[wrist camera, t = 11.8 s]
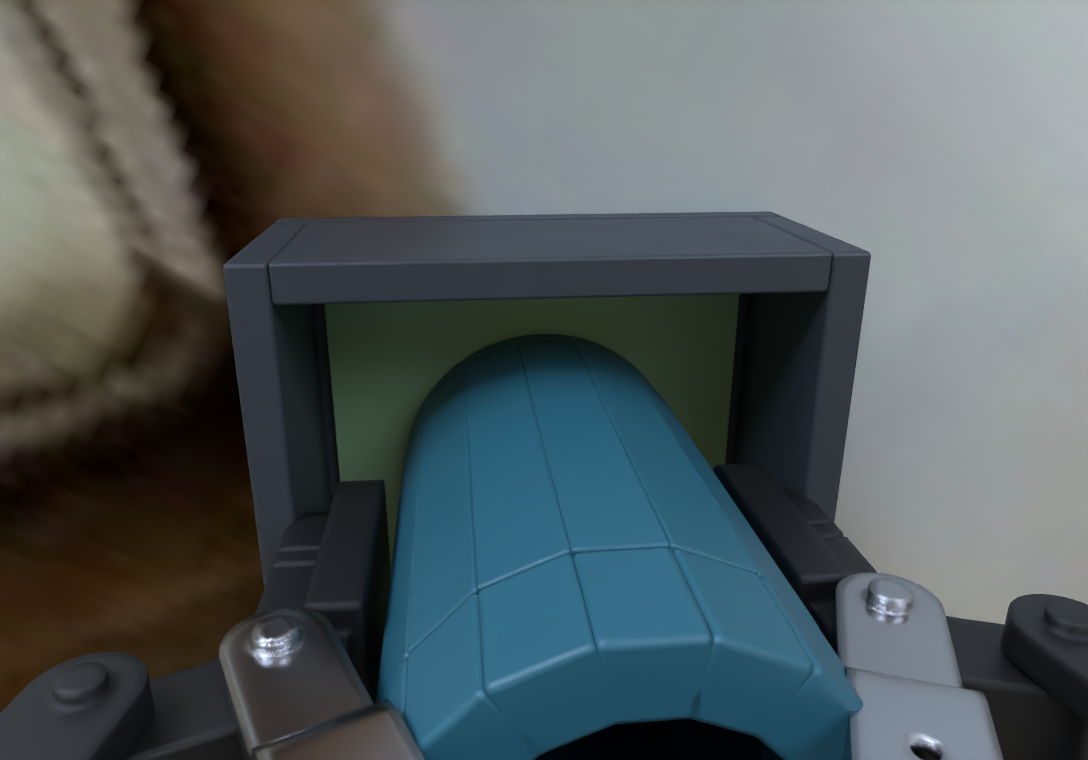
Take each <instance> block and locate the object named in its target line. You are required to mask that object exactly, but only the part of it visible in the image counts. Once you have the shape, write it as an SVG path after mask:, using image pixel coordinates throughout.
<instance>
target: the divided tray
mask: <svg viewBox="0 0 1088 760" xmlns="http://www.w3.org/2000/svg"><path fill="white" fill-rule="evenodd" d="M870 258H871V255H870V252H868V251H866V250H863V249H861V248H858V247H856V246H853V245H851V244H848V243H846V242H844V241H841V240H839V239H836V238H834V237H831V236H829V235H826V234H824V233H822V232H819V231H817V230H814V229H812V228H809V227H807V226H804V225H802V224H800V223H797V222H795V221H792V220H790V219H787V218H785V217H782V216H780V215H778V214H775V213H773V212H710V213H638V214H565V215H493V216H420V217H347V218H281V219H279V220H277V221H276V222H275V223H274V224H273V225H271V226H270V227H269V228H268V229H266V230H265V231H264V232H263V233H262V234H260V235H259V236H258V237H257V238H256V239H254V240H253V241H252V242H251V243H250V244H248V245H247V246H246V247H245V248H244V249H242V250H241V251H240V252H239V253H238V254H236V255H235V256H234V257H233V258H232V259H230V260H229V261H228V262H227V263H226V264H224V267H223V272H224V280H225V288H226V295H227V303H228V311H229V319H230V326H231V334H232V342H233V349H234V357H235V365H236V372H237V380H238V388H239V395H240V403H241V411H242V419H243V426H244V434H245V442H246V449H247V457H248V465H249V472H250V480H251V488H252V495H253V503H254V511H255V519H256V526H257V534H258V542H259V549H260V557H261V565H262V572H263V580H264V588H265V586H266V583H267V580H268V578H269V575H270V572H271V569H272V568H273V567H274V561H275V558H276V556H277V553H278V552H279V547H280V544H281V542H282V539H283V536H284V533H285V531H286V529H287V528H288V527H289V526H290V525H292V524H293V523H294V522H295V521H296V520H297V519H298V518H299V517H301V516H302V515H303V514H304V513H305V512H326V511H330V508H331V504H332V501H333V497H334V493H335V490H336V486H337V483H338V482H339V481H359V480H381V479H383V480H384V484H385V493H386V508H387V522H388V537H389V552H390V569H391V566H392V557H393V549H394V540H395V531H396V523H397V514H398V505H399V496H400V488H401V479H402V470H403V461H404V455H405V450H406V448H407V445H408V442H409V436H410V432H411V429H412V426H413V423H414V420H415V418H416V415H417V413H418V411H419V409H420V407H421V405H422V403H423V402H424V400H425V399H426V397H427V396H428V394H429V393H430V391H431V390H432V388H433V387H434V386H435V385H436V384H437V383H438V382H439V380H440V379H441V378H442V377H443V376H444V375H445V374H446V373H447V372H448V371H450V370H451V369H452V368H453V367H454V366H455V365H456V364H458V363H459V362H461V361H462V360H464V359H465V358H467V357H468V356H470V355H471V354H473V353H475V352H477V351H479V350H481V349H483V348H485V347H487V346H489V345H492V344H495V343H497V342H500V341H503V340H506V339H511V338H515V337H520V336H525V335H536V334H558V335H566V336H572V337H578V338H582V339H585V340H588V341H592V342H595V343H597V344H599V345H602V346H604V347H606V348H608V349H610V350H612V351H614V352H615V353H617V354H619V355H620V356H622V357H623V358H625V359H626V360H628V361H629V362H630V363H631V364H632V365H634V366H635V367H636V368H637V369H638V370H639V371H640V372H641V373H642V374H643V375H644V376H645V377H646V379H647V380H648V381H649V382H650V383H651V385H652V386H653V387H654V388H655V389H656V390H657V391H658V392H659V393H660V394H661V395H662V397H663V398H664V400H665V401H666V403H667V404H668V406H669V407H670V409H671V410H672V411H673V413H674V414H675V416H676V417H677V419H678V420H679V422H680V423H681V425H682V426H683V428H684V429H685V431H686V432H687V434H688V435H689V437H690V438H691V439H692V441H693V442H694V444H695V445H696V447H697V448H698V450H699V451H700V453H701V454H702V456H703V457H704V459H705V460H706V462H707V463H708V464H709V466H710V467H711V469H712V470H713V469H714V467H715V466H716V465H728V464H749V463H760V464H761V465H762V466H763V467H764V468H765V469H766V470H767V472H768V473H769V474H770V475H771V477H772V478H773V479H774V480H775V481H776V483H777V484H778V485H779V486H780V488H781V489H782V490H791V489H792V490H794V491H796V492H798V493H799V494H801V495H803V496H805V497H806V498H808V499H810V500H812V501H813V502H815V503H817V504H818V505H819V507H820V508H821V509H822V510H823V511H824V512H825V513H826V515H827V516H828V517H829V518H830V519H831V523H834V520H835V512H836V505H837V498H838V491H839V483H840V476H841V469H842V462H843V454H844V447H845V440H846V433H847V425H848V418H849V411H850V403H851V396H852V389H853V382H854V374H855V367H856V360H857V353H858V345H859V338H860V331H861V324H862V316H863V309H864V302H865V295H866V287H867V280H868V273H869V266H870Z"/></svg>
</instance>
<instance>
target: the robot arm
mask: <svg viewBox="0 0 1088 760" xmlns="http://www.w3.org/2000/svg"><path fill="white" fill-rule="evenodd" d="M713 472H714V473H715V475H716V476H717V478H718V479H719V481H720V482H721V484H722V485H723V487H724V488H725V489H726V491H727V492H728V494H729V495H730V497H731V498H732V500H733V501H734V503H735V504H736V506H737V507H738V509H739V510H740V512H741V513H742V515H743V516H744V517H745V519H746V520H747V522H748V523H749V525H750V526H751V528H752V529H753V531H754V532H755V534H756V535H757V537H758V538H759V540H760V541H761V542H762V544H763V545H764V547H765V548H766V550H767V551H768V553H769V554H770V556H771V557H772V559H773V560H774V562H775V563H776V565H777V566H778V568H779V569H780V570H781V572H782V573H783V575H784V576H785V578H786V579H787V581H788V582H789V584H790V585H791V587H792V588H793V590H794V591H795V593H796V594H797V595H798V597H799V598H800V600H801V601H802V603H803V604H804V606H805V607H806V609H807V610H808V612H809V613H810V615H811V616H812V618H813V619H814V621H815V622H816V624H817V625H818V627H819V629H820V631H821V632H822V634H823V635H824V637H825V638H826V640H827V641H828V642H829V644H830V645H831V647H832V648H833V650H834V651H835V653H836V654H837V656H838V657H839V659H840V660H841V662H842V663H843V665H844V666H845V671H846V675H847V678H848V680H849V682H850V683H851V685H852V686H853V688H854V689H855V691H856V692H857V694H858V695H859V697H860V698H861V700H862V701H863V708H861V709H858V710H855V711H849V717H848V724H847V730H846V736H845V743H844V749H843V755H842V760H1088V605H1087V604H1084V603H1082V602H1079V601H1076V600H1073V599H1069V598H1065V597H1061V596H1055V595H1047V594H1031V595H1024V596H1021V597H1018V598H1016V599H1014V600H1013V601H1012V602H1011V603H1010V605H1009V608H1008V612H1007V617H1006V621H1005V625H1004V624H996V623H989V622H982V621H974V620H967V619H960V618H954V617H949V616H946V615H945V611H944V608H943V606H942V604H941V602H940V601H939V599H938V598H937V597H936V596H935V595H934V594H932V593H931V592H930V591H928V590H927V589H925V588H924V587H922V586H920V585H919V584H916V583H914V582H912V581H910V580H907V579H904V578H901V577H898V576H894V575H889V574H883V573H877V572H876V570H875V569H874V568H873V567H872V566H871V565H870V564H869V562H868V561H867V560H866V559H865V558H864V557H863V556H862V554H861V553H860V552H859V551H858V550H857V549H856V548H855V546H854V545H853V544H852V543H851V542H850V541H849V540H848V538H847V537H843V533H842V532H841V531H840V529H839V528H838V527H837V526H836V525H835V524H834V523H831V519H830V518H829V517H828V516H827V515H826V513H825V512H824V511H823V510H822V509H821V508H820V507H819V505H818V504H817V503H815V502H813V501H812V500H810V499H808V498H806V497H805V496H803V495H801V494H799V493H798V492H796V491H794V490H792V489H791V490H782V489H781V488H780V486H779V485H778V484H777V483H776V481H775V480H774V479H773V478H772V477H771V475H770V474H769V473H768V472H767V470H766V469H765V468H764V467H763V466H762V465H761V464H760V463H749V464H728V465H716V466H715V467H714V469H713ZM390 575H391V569H390V552H389V537H388V522H387V508H386V493H385V484H384V480H383V479H381V480H359V481H339V482H338V483H337V486H336V490H335V493H334V497H333V501H332V504H331V508H330V511H326V512H305V513H304V514H303V515H302V516H301V517H299V518H298V519H297V520H296V521H295V522H294V523H293V524H292V525H290V526H289V527H288V528H287V529H286V531H285V533H284V536H283V539H282V542H281V544H280V547H279V552H278V553H277V556H276V558H275V561H274V567H273V568H272V569H271V572H270V575H269V578H268V580H267V583H266V586H265V589H264V592H263V594H262V597H261V600H260V603H259V605H258V608H257V611H256V614H255V615H253V616H251V617H249V618H247V619H245V620H243V621H241V622H240V623H238V624H237V625H236V626H234V627H233V628H232V629H231V630H230V631H229V632H228V633H227V634H226V635H225V637H224V638H223V639H222V641H221V644H220V646H219V657H218V658H216V659H214V660H212V661H209V662H207V663H205V664H202V665H200V666H196V667H193V668H190V669H187V670H183V671H179V672H175V673H172V674H168V675H164V676H161V677H157V678H153V679H150V680H149V677H148V672H147V667H146V666H145V664H144V662H142V661H141V660H140V659H139V658H137V657H135V656H133V655H130V654H126V653H120V652H101V653H94V654H89V655H84V656H80V657H77V658H74V659H71V660H68V661H66V662H63V663H61V664H59V665H57V666H55V667H53V668H51V669H49V670H47V671H46V672H44V673H42V674H41V675H39V676H38V677H37V678H35V679H34V680H33V681H32V682H31V683H29V684H28V685H27V686H26V687H25V688H24V689H23V690H22V691H21V692H20V693H19V694H18V695H17V696H16V697H15V698H14V700H13V701H12V702H11V703H10V704H9V705H8V706H7V707H6V708H5V709H4V710H3V711H2V712H1V713H0V760H425V758H424V757H423V755H422V753H421V751H420V750H419V748H418V746H417V744H416V742H415V741H414V739H413V737H412V735H411V734H410V732H409V730H408V728H407V726H406V725H405V723H404V721H403V719H402V718H401V716H400V714H399V712H398V710H397V709H396V707H395V706H394V704H393V703H392V702H391V701H390V700H388V699H386V700H383V701H380V702H377V703H376V697H377V688H378V680H379V671H380V662H381V654H382V645H383V636H384V627H385V619H386V610H387V601H388V592H389V584H390Z"/></svg>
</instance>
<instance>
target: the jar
mask: <svg viewBox="0 0 1088 760" xmlns="http://www.w3.org/2000/svg"><path fill="white" fill-rule="evenodd" d="M386 699H388V700H390V701H391V702H392V703H393V704H394V706H395V707H396V709H397V710H398V712H399V714H400V716H401V718H402V719H403V721H404V723H405V725H406V726H407V728H408V730H409V732H410V734H411V735H412V737H413V739H414V741H415V742H416V744H417V746H418V748H419V750H420V751H421V753H422V755H423V757H424V758H425V760H842V755H843V749H844V743H845V736H846V730H847V724H848V717H849V711H855V710H858V709H861V708H863V701H862V700H861V698H860V697H859V695H858V694H857V692H856V691H855V689H854V688H853V686H852V685H851V683H850V682H849V680H848V678H847V675H846V671H845V666H844V665H843V663H842V662H841V660H840V659H839V657H838V656H837V654H836V653H835V651H834V650H833V648H832V647H831V645H830V644H829V642H828V641H827V640H826V638H825V637H824V635H823V634H822V632H821V631H820V629H819V627H818V625H817V624H816V622H815V621H814V619H813V618H812V616H811V615H810V613H809V612H808V610H807V609H806V607H805V606H804V604H803V603H802V601H801V600H800V598H799V597H798V595H797V594H796V593H795V591H794V590H793V588H792V587H791V585H790V584H789V582H788V581H787V579H786V578H785V576H784V575H783V573H782V572H781V570H780V569H779V568H778V566H777V565H776V563H775V562H774V560H773V559H772V557H771V556H770V554H769V553H768V551H767V550H766V548H765V547H764V545H763V544H762V542H761V541H760V540H759V538H758V537H757V535H756V534H755V532H754V531H753V529H752V528H751V526H750V525H749V523H748V522H747V520H746V519H745V517H744V516H743V515H742V513H741V512H740V510H739V509H738V507H737V506H736V504H735V503H734V501H733V500H732V498H731V497H730V495H729V494H728V492H727V491H726V489H725V488H724V487H723V485H722V484H721V482H720V481H719V479H718V478H717V476H716V475H715V473H714V472H713V470H712V469H711V467H710V466H709V464H708V463H707V462H706V460H705V459H704V457H703V456H702V454H701V453H700V451H699V450H698V448H697V447H696V445H695V444H694V442H693V441H692V439H691V438H690V437H689V435H688V434H687V432H686V431H685V429H684V428H683V426H682V425H681V423H680V422H679V420H678V419H677V417H676V416H675V414H674V413H673V411H672V410H671V409H670V407H669V406H668V404H667V403H666V401H665V400H664V398H663V397H662V395H661V394H660V393H659V392H658V391H657V390H656V389H655V388H654V387H653V386H652V385H651V383H650V382H649V381H648V380H647V379H646V377H645V376H644V375H643V374H642V373H641V372H640V371H639V370H638V369H637V368H636V367H635V366H634V365H632V364H631V363H630V362H629V361H628V360H626V359H625V358H623V357H622V356H620V355H619V354H617V353H615V352H614V351H612V350H610V349H608V348H606V347H604V346H602V345H599V344H597V343H595V342H592V341H588V340H585V339H582V338H578V337H572V336H566V335H558V334H536V335H525V336H520V337H515V338H511V339H506V340H503V341H500V342H497V343H495V344H492V345H489V346H487V347H485V348H483V349H481V350H479V351H477V352H475V353H473V354H471V355H470V356H468V357H467V358H465V359H464V360H462V361H461V362H459V363H458V364H456V365H455V366H454V367H453V368H452V369H451V370H450V371H448V372H447V373H446V374H445V375H444V376H443V377H442V378H441V379H440V380H439V382H438V383H437V384H436V385H435V386H434V387H433V388H432V390H431V391H430V393H429V394H428V396H427V397H426V399H425V400H424V402H423V403H422V405H421V407H420V409H419V411H418V413H417V415H416V418H415V420H414V423H413V426H412V429H411V432H410V436H409V442H408V445H407V448H406V450H405V455H404V461H403V470H402V479H401V488H400V496H399V505H398V514H397V523H396V531H395V540H394V549H393V557H392V566H391V575H390V584H389V592H388V601H387V610H386V619H385V627H384V636H383V645H382V654H381V662H380V671H379V680H378V688H377V697H376V703H377V702H380V701H383V700H386Z"/></svg>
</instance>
